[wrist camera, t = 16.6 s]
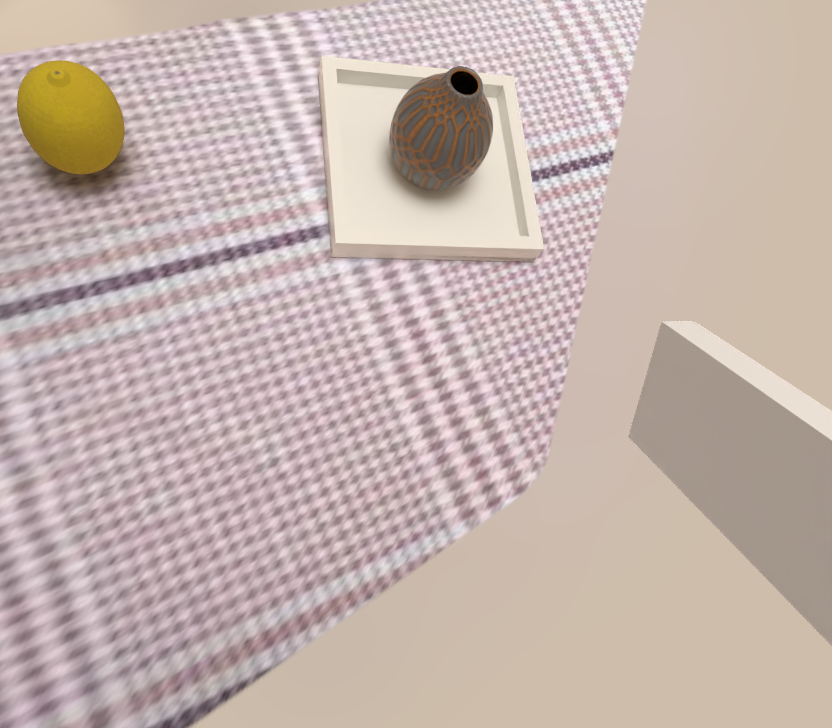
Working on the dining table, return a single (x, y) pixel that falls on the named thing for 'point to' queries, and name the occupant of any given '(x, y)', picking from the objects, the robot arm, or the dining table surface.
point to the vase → (442, 129)
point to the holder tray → (402, 200)
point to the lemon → (70, 117)
